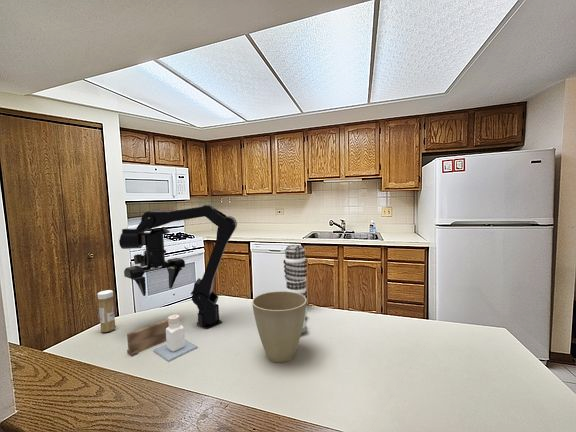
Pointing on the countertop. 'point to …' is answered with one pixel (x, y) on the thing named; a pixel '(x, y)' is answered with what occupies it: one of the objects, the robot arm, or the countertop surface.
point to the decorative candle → (295, 270)
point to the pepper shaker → (174, 333)
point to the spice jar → (106, 310)
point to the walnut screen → (146, 337)
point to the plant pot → (279, 322)
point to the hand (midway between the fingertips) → (157, 291)
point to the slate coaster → (170, 355)
